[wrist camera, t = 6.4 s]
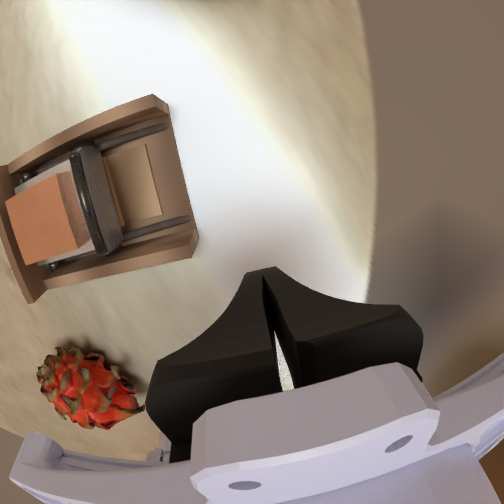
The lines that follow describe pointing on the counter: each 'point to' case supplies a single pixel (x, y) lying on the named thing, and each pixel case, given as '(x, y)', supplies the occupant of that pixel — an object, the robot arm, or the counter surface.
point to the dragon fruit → (87, 389)
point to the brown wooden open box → (113, 195)
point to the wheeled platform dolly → (65, 210)
